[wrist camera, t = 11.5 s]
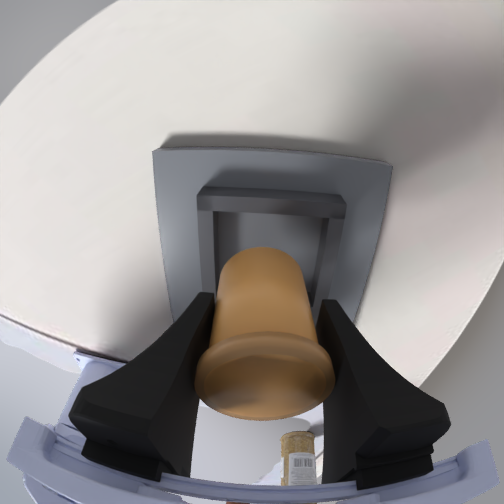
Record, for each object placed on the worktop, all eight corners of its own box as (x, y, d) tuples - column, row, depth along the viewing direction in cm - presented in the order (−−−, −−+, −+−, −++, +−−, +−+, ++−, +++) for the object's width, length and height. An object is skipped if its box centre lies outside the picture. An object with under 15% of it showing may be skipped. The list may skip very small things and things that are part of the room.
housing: (330, 368, 24) (334, 390, 21) (185, 359, 24) (179, 381, 22) (386, 162, 15) (404, 173, 12) (158, 147, 15) (141, 157, 13)
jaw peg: (303, 318, 15) (320, 418, 10) (216, 317, 15) (202, 418, 10) (315, 242, 13) (351, 344, 7) (210, 240, 13) (184, 344, 7)
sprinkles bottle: (273, 438, 32) (270, 527, 21) (294, 427, 30) (294, 525, 19) (301, 443, 33) (302, 527, 22) (322, 432, 31) (327, 523, 19)
